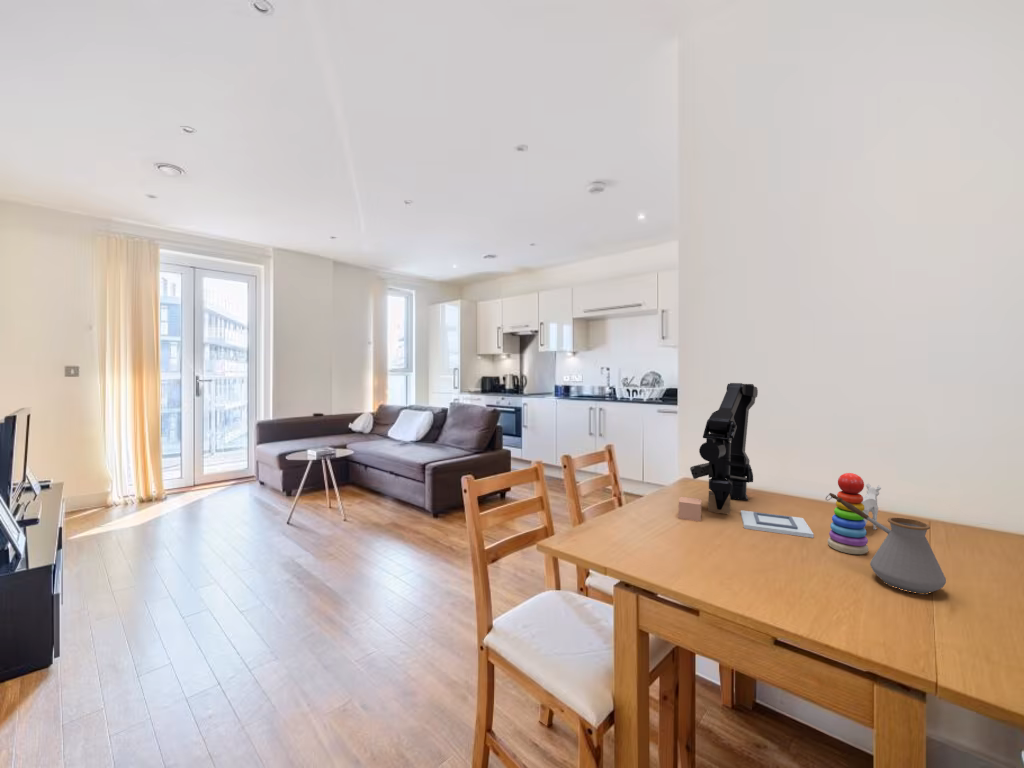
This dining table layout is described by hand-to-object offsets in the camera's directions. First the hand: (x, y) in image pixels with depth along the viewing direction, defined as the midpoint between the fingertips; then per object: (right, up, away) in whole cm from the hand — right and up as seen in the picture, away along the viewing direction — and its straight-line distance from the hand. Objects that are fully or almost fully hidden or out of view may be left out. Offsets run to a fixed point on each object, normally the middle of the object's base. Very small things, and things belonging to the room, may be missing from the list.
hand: (718, 506), depth 137 cm
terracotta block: (-12, -1, -7) cm, 14 cm away
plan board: (+10, -2, -13) cm, 16 cm away
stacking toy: (+17, -2, -30) cm, 34 cm away
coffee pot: (+14, -3, -43) cm, 45 cm away
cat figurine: (+31, -2, -17) cm, 35 cm away
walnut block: (0, -1, 0) cm, 1 cm away
